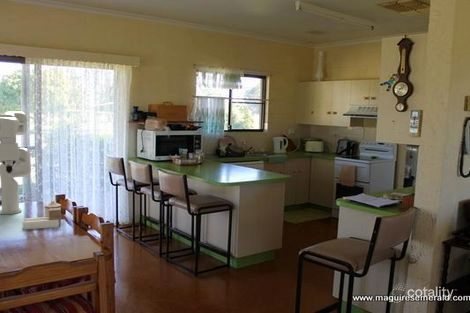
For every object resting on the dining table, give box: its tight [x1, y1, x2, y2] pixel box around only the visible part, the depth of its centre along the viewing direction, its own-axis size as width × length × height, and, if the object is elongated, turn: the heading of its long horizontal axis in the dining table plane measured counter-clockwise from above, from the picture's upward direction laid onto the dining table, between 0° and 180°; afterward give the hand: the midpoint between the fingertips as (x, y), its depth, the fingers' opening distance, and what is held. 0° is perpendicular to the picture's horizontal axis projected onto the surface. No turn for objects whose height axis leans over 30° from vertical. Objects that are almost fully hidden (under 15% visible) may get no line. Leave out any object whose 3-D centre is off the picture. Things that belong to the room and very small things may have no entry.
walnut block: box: [49, 208, 62, 225], centre depth 239 cm, size 5×6×8 cm
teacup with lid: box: [44, 200, 62, 217], centre depth 250 cm, size 12×9×12 cm
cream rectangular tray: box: [22, 216, 60, 230], centre depth 236 cm, size 8×18×4 cm, turn 114°
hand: (9, 172), depth 238 cm, fingers closed
